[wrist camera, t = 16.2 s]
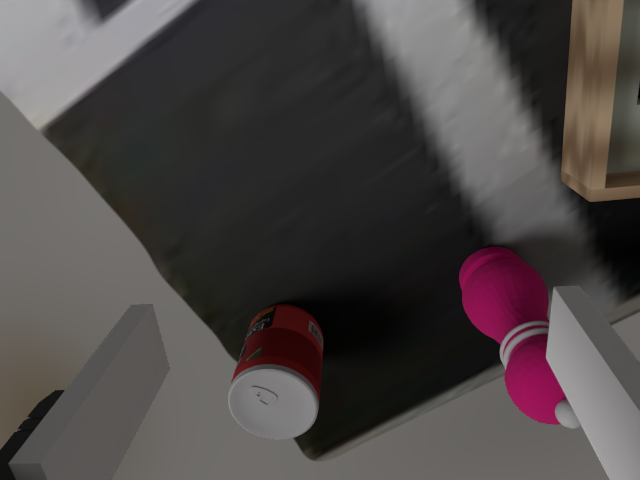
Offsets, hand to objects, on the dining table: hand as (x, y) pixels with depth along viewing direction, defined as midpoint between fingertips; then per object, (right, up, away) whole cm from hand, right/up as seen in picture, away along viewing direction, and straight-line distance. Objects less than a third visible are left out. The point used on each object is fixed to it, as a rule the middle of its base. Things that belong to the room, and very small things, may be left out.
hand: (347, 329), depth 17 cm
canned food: (-4, -7, +37) cm, 38 cm away
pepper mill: (+16, 0, +33) cm, 36 cm away
